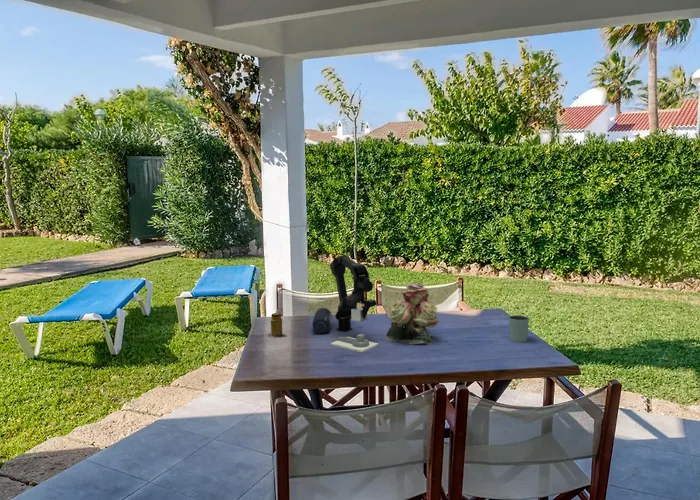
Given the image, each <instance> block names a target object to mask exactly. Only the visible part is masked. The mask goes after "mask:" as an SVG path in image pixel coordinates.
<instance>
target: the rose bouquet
mask: <svg viewBox="0 0 700 500" xmlns="http://www.w3.org/2000/svg"><path fill="white" fill-rule="evenodd" d="M425 285H426V284H425V283H423V282H420V283H417V282H410V283H407V284H405V287H406V290H407V291H406V292H402V297H403V300H402V299H397V300H395V302H394V303H393V304H392V305H390V306H389V308H388V309H387V310H386V313H385V316H387V317H388V318H389V320H390V325H391V326H390V327H389V328H388V330H387V331H386V332H387V333H386V337H385V338H386V340H387V341H389V342H393V343H397V342H398V343H400V342H401V343H403V344H406V345H415V344H426V345H429V346H430V345H432V344H433V339H435V338H434V337H435V336H430V335H428V333H430V331H429V330H427V328H431V329H433V328H434V327H435V326H437V325H439V323H440V319H439V317H438V316H437V315H438V314H437V313H438V308H437V306H436V305H434V304H433V302H431V301H429V300H428V298H429V292H430V291H429V290H428V288H426V287H425ZM418 334H419V335H420V334H423V335H420V336H419V335H418ZM426 334H427V335H426ZM429 336H430V337H429Z"/></svg>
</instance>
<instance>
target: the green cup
mask: <svg viewBox="0 0 700 500" xmlns="http://www.w3.org/2000/svg"><path fill="white" fill-rule="evenodd" d="M529 320H530V317H528V316H527V315H521V314H519V315H517V314H514V315H513V314H512V315H509V316H508V326H509V327H508V328H509V340H510V341H512V342H515V343H526V342H527V341H528V333H529Z"/></svg>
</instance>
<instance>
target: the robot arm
mask: <svg viewBox="0 0 700 500" xmlns="http://www.w3.org/2000/svg"><path fill="white" fill-rule="evenodd" d="M329 269H330V271H331V274H332V276H334V278H335V283H336V289H337V294H338V300H339V304H338V306H337V312H336V313H335V319H336V321H337V320H338V321H337V322H338V323H337V324H338V326H337V328H336V330H337V331H342V332H348V331H351V330H352V329H353V328H352V322H351V309H353V308H356V307H358V304H363V305H362V306H361V307H362V308H363V318H365V317H366V315H367V316H368V312H369V310H370V309H371V308H372V307H376V306H377V301H376V300H375V299H367V297H366V295H365V293H369V292H372V290H373V288H374V284H373V282H372V281H371V280H370V273H369V272H368V269H367V267H366V265H365V264H362V263H357V262H355V261H354V260H353V259H351V258H350V257H349V255H339V256H338V257H337V258H335V259H333V260H332V261H331V262H330V264H329ZM347 269H348V270H349V271H350V272H349V273H350V274H351V276H352V277H351V279H352V280H353V290H351V294H350V295H348V291H347V286H346V281H345V273H346V270H347Z"/></svg>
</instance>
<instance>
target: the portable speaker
mask: <svg viewBox="0 0 700 500" xmlns="http://www.w3.org/2000/svg"><path fill="white" fill-rule="evenodd" d="M332 319H333V314H332V312H331V311H330V310H329V308H327V307H321V308H319V309H316V312H315V314H314V317H313V320H312V323H311V325H312V329H313V331H314V332H315V333H317V334H325V333H327V332H328V331H329V330H330V328H331V325H332Z"/></svg>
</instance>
